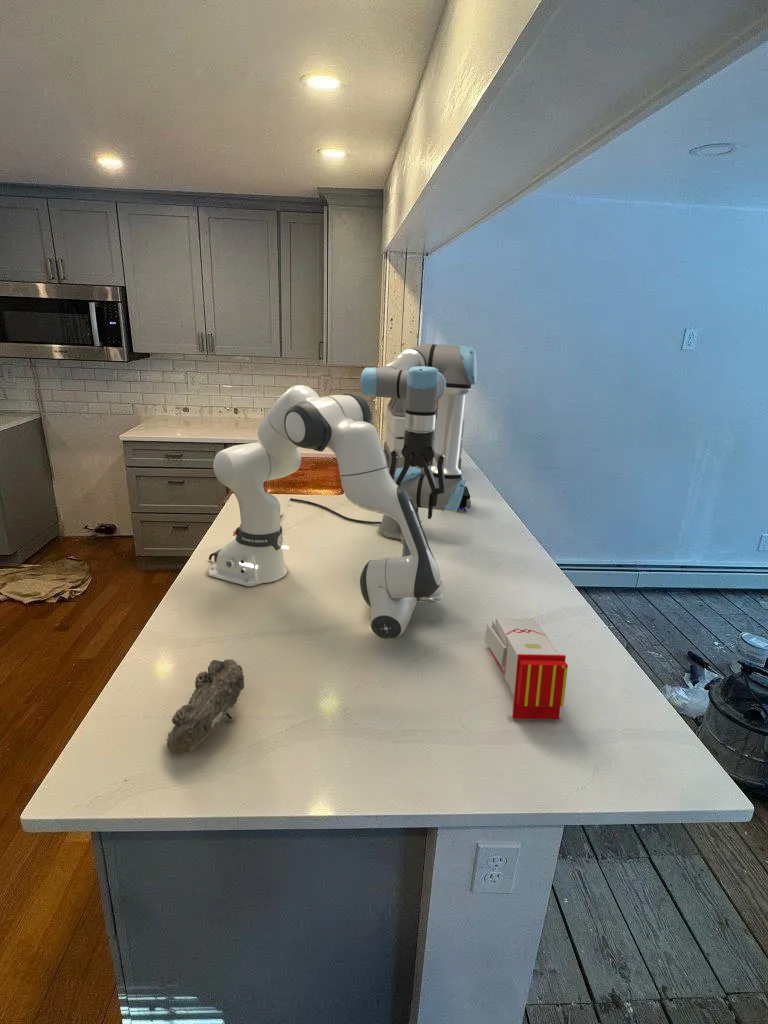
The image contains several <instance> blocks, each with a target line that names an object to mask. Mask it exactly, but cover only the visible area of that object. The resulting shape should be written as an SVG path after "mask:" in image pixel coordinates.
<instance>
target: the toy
mask: <svg viewBox="0 0 768 1024" xmlns="http://www.w3.org/2000/svg"><path fill="white" fill-rule="evenodd" d="M484 642H485V643H486V645H487V646H488V650H489V651H490V654H491V655H492V657H493V659H494V660H495V662H496V664H497V666H498V667H499V669H500V671H501V672H502V675H503V676H504V678H505V680H506V682H507V684H508V686H509V688H510V691H511V693H512V694H513V704H512V705H513V706H512V715H511V717H512V719H513V720H560V714H561V708H563V707H564V704H565V695H566V685H567V677H568V668H569V666H568V663H567V662H566V657H567V656H566V654H560V653H559V651H558V650H557V648H556V647H555V646H554V645H553V643H552V642H551V640H550V639H549V638H548V636H547V635H546V634H545V632H544V631H543V629H542V628H541V627H540V625H539V623H537V621H536V620H535V619H534V618H523V617H522V618H521V617H520V618H519V617H516V618H515V617H496V618H495V620H492V622H491V624H490V623H486V629H485V637H484Z"/></svg>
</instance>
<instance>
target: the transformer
mask: <svg viewBox="0 0 768 1024" xmlns="http://www.w3.org/2000/svg"><path fill="white" fill-rule="evenodd" d="M438 400H439V399H437V402H436V416H435V429H434V430H433V432H434V442H435V432H436V421H437V411H438ZM385 414H386V415H385V423H386V428H385V438H384V442H383V449H384V453H385V457H386V461H387V466H388V468H390V466H391V462H392V457H391V452H392V451H393V450H394V449H396V450H402V449H403V447H404V432H405V430H407V429H406V428H405V414H406V399H399V398H390V400H389V402H388V404H387V405H386V413H385ZM464 429H465V419H464V418H463V422H462V432H461V441H460V451H459V461H458V468H459V470H460V471H461V472H462V461H463V460H462V453H463V442H464V441H463V440H462V439H463V438H464V431H465V430H464ZM433 449H434V444H433ZM405 463H406V460H405V458H404V457H403V455H402V454H401V456H400V458H398V463H397V467H396V468H401V467H404V465H405ZM429 463H430V466H432V464H433V458H432V459H431V460H430V462H429Z"/></svg>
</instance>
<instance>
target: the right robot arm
mask: <svg viewBox="0 0 768 1024" xmlns="http://www.w3.org/2000/svg"><path fill="white" fill-rule="evenodd" d="M477 378H478V360H477V353H476V350H475V348H474V347H471V346H466V345H465V346H464V345H461V344H460V345H455V344H454V345H453V344H436V343H435V344H434V343H425V344H424V343H423V344H419V345H415V346H412V347H409V348H407V349H405V350H403V351H401V352H400V353H399V354H397V357H396V359H394V360H392V361H390V362H388V363H386V364H385V365H383V366H381V367H376V366H373V367H365V368H363V370H362V372H361V376H360V391H361V393H362V394H363V395H364V396H367V397H373V398H386V399H387V398H389V399H391V398H399V399H406V414H405V428H406V429H407V430H405V432H404V447H403V449H402V450H396V449H394V450H393V451H392V452H391V457H392V462H391V466H390V467H389V473H390V475H391V477H392V479H393V480H394V482H395V483H396V484H397V485H398V486H399V487H402V488H404V489H405V490H406V491H407V493H408V494H409V496H410V498H411V500H412V503H413V505H414V508H415V510H416V513H417V515H418V518H419V521H420V523H421V526H422V527H423V525H422V520H421V518H420V515H419V508H422V509H427V520H432V518H433V511H434V510H436V511H442V512H456V511H457V509H458V507H459V505H460V502H461V499H462V496H463V492H464V488H465V486H466V478H464V477H463V476H462V475H463V474H462V470H461V471H460V470H459V468H458V461H459V451H460V441H461V440H462V438H461V432H462V422H463V419H464V412H465V403H466V402H465V401H466V395H467V394H468V393H469V392H470V391H471V390H472V386H474V385H476V384H477V381H478V380H477ZM437 399H439V400H438V411H437V421H436V432H435V442H434V432H433V430H434V429H435V416H436V402H437ZM433 444H434V449H433ZM401 454H402V455H403V457H404V458H405V460H406V463H405V465H404V467H401V468H396V467H397V463H398V458H400V456H401ZM432 458H433V464H432V465H430V463H429V462H430V460H431V459H432ZM421 468H422V469H423V472H424V473H422V469H421ZM289 500H290V501H293V502H299V503H305V504H309V505H314V506H317V507H319V508H321V509H324V510H326V511H328V512H330V513H333V514H334V515H336V516H338V517H340V518H342V519H344V520H347V521H351V522H355V523H360V524H361V523H362V524H369V525H378V533H379V534H380V535H381V536H382V537H385V538H387V539H389V540H395V541H401V535H402V533H403V532H402V529H401V527H400V525H399V523H398V522H397V521H396V520H395V519H393V518H391V517H390V516H387V515H385V514H382V519H381V521H372V520H362V519H355V518H352V517H351V518H350V517H349V516H348V517H347V516H346V515H343V514H341V513H339V512H337V511H335V510H333V509H331V508H330V507H327V506H325V505H322V504H320V503H318V502H317V503H316V502H313V501H310V500H309V501H308V500H305V499H300V498H293V497H290V498H289Z"/></svg>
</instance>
